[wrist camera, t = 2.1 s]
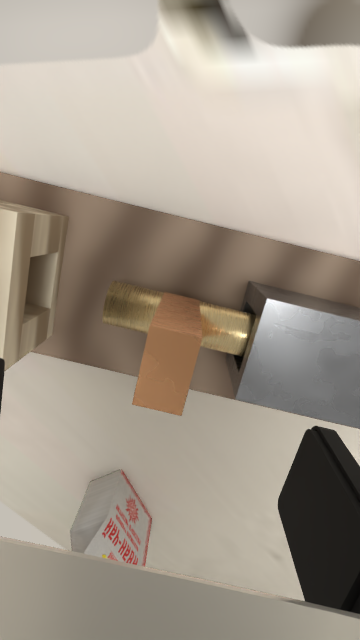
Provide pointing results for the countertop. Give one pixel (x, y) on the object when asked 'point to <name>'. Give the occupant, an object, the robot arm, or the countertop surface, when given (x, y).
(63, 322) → the walnut base board
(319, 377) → the galvanized steel sleeve
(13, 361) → the ash socket block
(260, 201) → the countertop surface
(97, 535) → the white angular box
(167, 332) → the brass tube
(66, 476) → the countertop surface
